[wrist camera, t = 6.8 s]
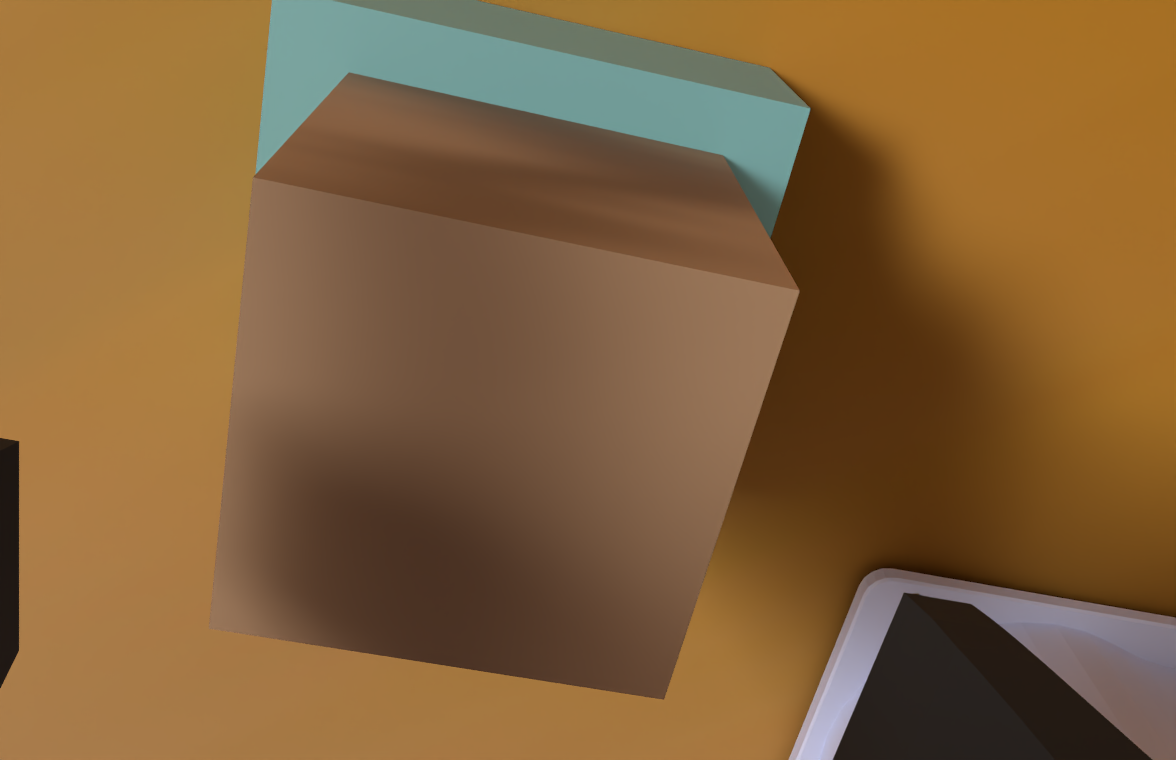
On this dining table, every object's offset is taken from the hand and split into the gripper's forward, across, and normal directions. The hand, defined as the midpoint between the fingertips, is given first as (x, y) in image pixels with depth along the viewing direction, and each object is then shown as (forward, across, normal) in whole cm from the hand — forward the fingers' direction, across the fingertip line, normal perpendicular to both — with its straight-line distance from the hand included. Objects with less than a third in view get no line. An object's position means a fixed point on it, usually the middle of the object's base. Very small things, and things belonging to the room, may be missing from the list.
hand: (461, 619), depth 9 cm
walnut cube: (+7, 0, 0) cm, 7 cm away
